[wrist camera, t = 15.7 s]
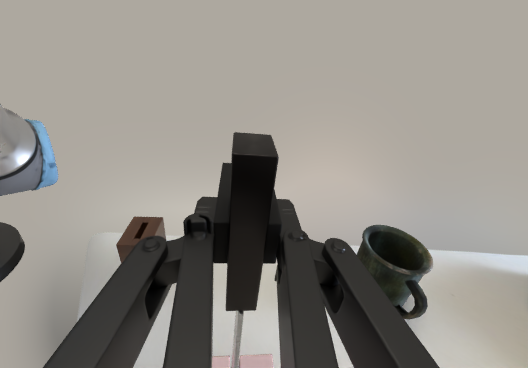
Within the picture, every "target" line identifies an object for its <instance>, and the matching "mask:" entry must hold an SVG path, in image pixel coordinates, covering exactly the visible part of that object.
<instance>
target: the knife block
mask: <svg viewBox="0 0 528 368" xmlns="http://www.w3.org/2000/svg"><path fill="white" fill-rule="evenodd" d="M149 236H161V237H163V238H165V239H166V236H165V229H164V222H163V218H162V217H160V218H159V217H134V218H133V219H132V221H131V222H130V224H129V226H128V227H127V229H126V230H125V232H124V233H123V235H122V237H121V238H120V240H119V241H118V243H117V245H116V246H117V249H118V253H119V256H120V260H121V263H122V262H123V261H124V260H125V258H126V257H127V256H128V254H129V253H130V252H131V250H132V249H133V248H134V246H135V245H136V244H137V243H138V242H139V241H140V240H141V239H143V238H145V237H149Z"/></svg>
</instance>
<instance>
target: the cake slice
mask: <svg viewBox="0 0 528 368" xmlns="http://www.w3.org/2000/svg"><path fill="white" fill-rule="evenodd" d="M239 368H274V367H273V357H272V354H263V355H241V356H240V359H239Z"/></svg>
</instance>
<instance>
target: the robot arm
mask: <svg viewBox="0 0 528 368" xmlns="http://www.w3.org/2000/svg"><path fill="white" fill-rule="evenodd" d="M57 180H58V172H57V166H56V163H55V157H54V153H53V149H52V146H51V143H50V139H49V137H48V134H47V131H46V129H45V127H44V125H43V124H42V123H41V122H40V121H37V120H29V119H23V118H21V117H20V116H18V115H17V114H15V113H13V112H12V111H10V110H7V109H5V108H3V107H2V106H1V104H0V196H2V195H7V194H12V193H18V192H23V191H27V190H38V189H40V188H42V187H46V186H50V185H53V184H54V183H56V182H57ZM230 188H231V163H223V165H222V172H221V178H220V184H219V191H218V197H202V198H201V199H200V200H198V201H197V205H196V209H195V213H194V214H192V215H189V216H188V217H187V218H186V219H185V220H184V222H183V223H184V234H185V235H184V236H183V237H181V238H179V239H175V240H171V241H166V239H165V238H163V237H161V236H149V237H145V238H143V239H141V240H140V241H139V242H138V243H137V244H136V245H135V246H134V248H133V249H132V250H131V252H130V253H129V254H128V256H127V257H126V258H125V260H124V261H123V262H122V264H121V265H120V266H119V268H118V269H117V270H116V272H115V273H114V274H113V275H112V277H111V278H110V279H109V281H108V282H107V283H106V285H105V286H104V287H103V289H102V290H101V291H100V293H99V294H98V295H97V297H96V298H95V299H94V301H93V302H92V303H91V305H90V306H89V307H88V309H87V310H86V311H85V313H84V314H83V315H82V317H81V318H80V319H79V320H78V322H77V323H76V324H75V326H74V327H73V329H72V330H71V331H70V332H69V334H68V335H67V336H66V338H65V339H64V340H63V342H62V343H61V344H60V346H59V347H58V348H57V350H56V351H55V352H54V354H53V355H52V356H51V358H50V359H49V360H48V362H47V363H46V364H45V366H44V367H43V368H133V366H134V364H135V362H136V360H137V358H138V356H139V354H140V351H141V349H142V347H143V345H144V343H145V341H146V339H147V337H148V334H149V332H150V330H151V328H152V326H153V324H154V322H155V320H156V317H157V315H158V313H159V311H160V309H161V307H162V305H163V303H164V300H165V298H166V296H167V294H168V292H169V290H170V288H171V285H172V284H174V283H177V285H176V291H175V297H174V303H173V309H172V315H171V321H170V327H169V334H168V340H167V346H166V352H165V358H164V364H163V368H212V332H213V262H214V263H228V238H229V213H230ZM276 257H277V263H278V265H277V270H276V275H275V280H274V281H277V296H278V317H279V338H280V359H281V368H339V367H338V363H337V359H336V354H335V350H334V345H333V341H332V337H331V332H330V328H329V324H328V319H327V315H326V311H325V307H326V309H327V312H328V314H329V316H330V318H331V320H332V322H333V324H334V326H335V328H336V330H337V333H338V335H339V337H340V339H341V341H342V343H343V345H344V347H345V349H346V351H347V354H348V356H349V358H350V360H351V362H352V364H353V366H354V368H439V366H438V365H437V364H436V362H435V361H434V359H433V358H432V357H431V355H430V354H429V353H428V351H427V350H426V349H425V347H424V346H423V345H422V343H421V342H420V341H419V339H418V338H417V336H416V335H415V334H414V332H413V331H412V330H411V328H410V327H409V326H408V324H407V323H406V322H405V320H404V319H403V317H402V316H401V315H400V313H399V312H398V311H397V309H396V308H395V307H394V305H393V304H392V303H391V301H390V300H389V299H388V297H387V296H386V294H385V293H384V292H383V290H382V289H381V288H380V286H379V285H378V284H377V282H376V281H375V280H374V278H373V277H372V275H371V274H370V273H369V271H368V270H367V269H366V267H365V266H364V265H363V263H362V262H361V261H360V259H359V258H358V257H357V255H356V254H355V252H354V251H353V250H352V248H351V247H350V246H349V245H348V244H347V243H346V242H344V241H343V240H340V239H337V238H330V239H327V240H326V241H325V244H324V243H320V242H316V241H313V240H311V239H309V238H308V235H307V234H306V233H305V232H304V231H302V230H301V226H300V223H299V220H298V217H297V215H296V212H295V208H294V205H293V204H292V203H291V202H290V201H289V200H286V199H276V195H275V190H274V192H273V199H272V205H271V212H270V219H269V226H268V232H267V239H266V246H265V253H264V259H263V263H275V262H276ZM324 305H325V306H324Z"/></svg>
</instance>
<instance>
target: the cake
mask: <svg viewBox="0 0 528 368" xmlns="http://www.w3.org/2000/svg"><path fill="white" fill-rule="evenodd" d="M229 367H230V356H214V357H212V368H229Z"/></svg>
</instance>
